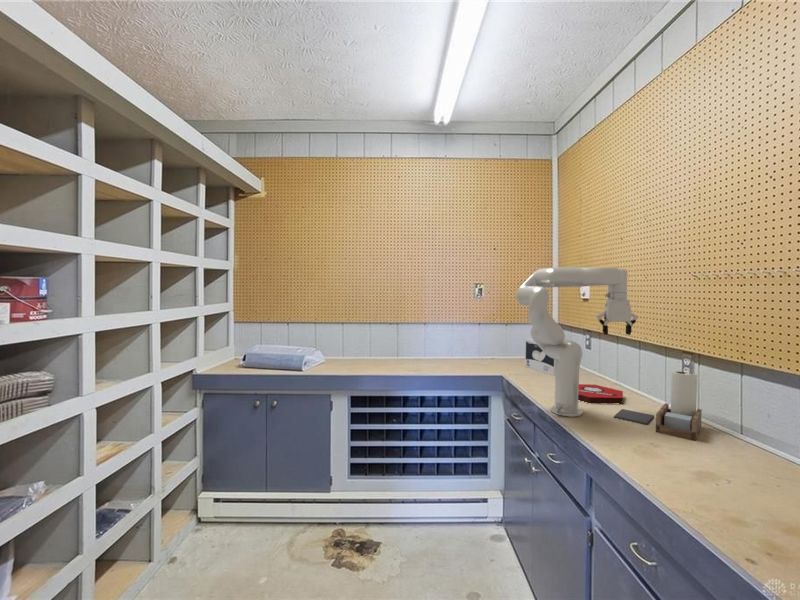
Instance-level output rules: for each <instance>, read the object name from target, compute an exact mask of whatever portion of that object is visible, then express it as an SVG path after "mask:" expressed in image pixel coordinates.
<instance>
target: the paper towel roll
mask: <svg viewBox="0 0 800 600" xmlns="http://www.w3.org/2000/svg"><path fill="white" fill-rule="evenodd" d="M670 390H671V391H670V409H671V413H675V414H680V415H686V416H691V417H692V419H693V417H694V415H695V413H696V411H697V391H698V374H694V373H693V374H691V373H689V372H685V371H677V370H675V371H674V370H673V371H671V389H670Z"/></svg>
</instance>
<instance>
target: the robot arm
mask: <svg viewBox="0 0 800 600" xmlns="http://www.w3.org/2000/svg"><path fill="white" fill-rule="evenodd" d="M592 286H593V287H594V286H607V293H605V294H604V297H606V298H607V299H605V303H604V304H605V305H604V309H603V310H604V311H603V312H601V313H599V314H597V315H596V319H597V320H598V322H599V323H600V324H601V325H602V334H603V335H608V334H609V326H608V324H609V323H610V322H612V323H613V322H614V323H616V322H617V323H625V324H626V325H625V334H626V335H628V336H630V335H632V334H631V333H632V331H633V330H632V327H633V325H635V324H636V322H637V320H638V318H639V316H638V315H637V314H635V313H632V310H631V309H632V308H631V302H630V299H628V270H627V269H625V268H618V267H586V266H585V267H584V266H583V267H582V266H581V267H580V266H576V267H574V266H573V267H572V266H571V267H568V266H567V267H563V266H562V267H546V268H544V267H542V268H539V269H537V270H535V271H534V272H533V273H532V274H531V275H530V276H529V277H528V278H527V279H526V280H525V281H524V282H523V283H522V284H521V286H519V288H518V289H517V290H516V293H515V299H516V301H517V303H519V304H520V305H522V306H528V312H527V315H528V316H527V318H528V321H529V323H530V324H531V327H530V336H531V338H532V339H533V340H534V341H535V343H536V344H537V345H538V346H539V347H540V348H541V349H542V350H543V352H544V353H545V354H546V355H548V356H549V357H551V358H553V359H557V360H559V362H558V365H557V367H556V371H555V376H554V378H555V379H554V405H553V406H551V407H550V411H551V413H553V414H555V415H559V416H561V417H562V416H564V417H571V418H572V417H573V418H575V417H580V416H583V410H581V409H580V408H579V401H578V398H579V384H580V368H581V366H580V365H581V362H582V357H583V348H582V347H581V345H580V344H579V343H578V342H577V341H573V340H570V339H565V337H566V335H565V331H564V329H563V328H562V327H561V326H560V324H558V323H557V322H556V320H555V319H554V318H553V316H552V315H551V313H549V311H548V305H549V299H550V293H549V291H548V290H547V288H580V287H581V288H582V287H592ZM602 317H603V319H602Z"/></svg>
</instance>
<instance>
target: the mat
mask: <svg viewBox="0 0 800 600" xmlns="http://www.w3.org/2000/svg"><path fill="white" fill-rule="evenodd" d="M654 416H655V415H654V414H649V413H644V412H639V411H634V410H629V409H624V408H621V409H620V410H619V411H618V412H617V413H616V414H614V415H613V419H616V418H618V420H621V419H622V421H625V420H627V421H626V422H630V421H631V423H636V424H641V425H644V426H647V425H648V424H650V422H651V421H652V419H654Z"/></svg>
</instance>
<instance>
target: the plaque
mask: <svg viewBox="0 0 800 600" xmlns="http://www.w3.org/2000/svg"><path fill="white" fill-rule="evenodd" d="M623 392H624V391H623V390H619V389H615V388H611V387H606V386H603V385H598V384H590V383H589V384H588V383H587V384H585V383H584V384H583V383H579V398H578V400H580V401H579V402H582V401H584V402H583V403H585V402H587V403H586V404H589V403H619V404H618V405H623V397H624V393H623Z"/></svg>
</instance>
